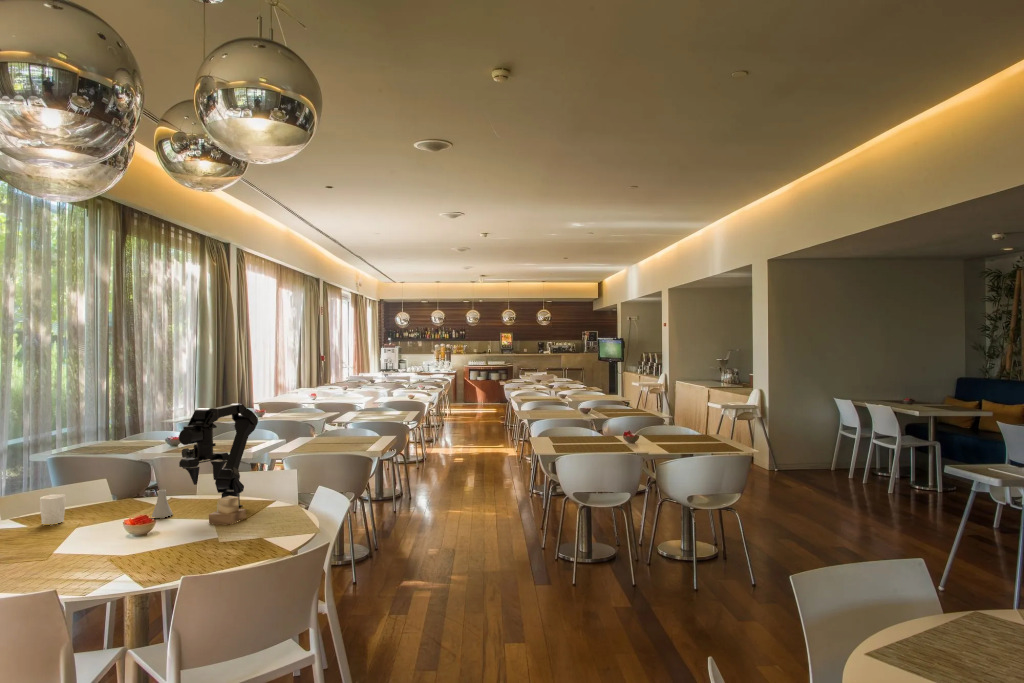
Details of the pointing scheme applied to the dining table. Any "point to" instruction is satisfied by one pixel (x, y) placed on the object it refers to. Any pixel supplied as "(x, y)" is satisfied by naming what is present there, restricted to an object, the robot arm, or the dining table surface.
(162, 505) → the flask
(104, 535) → the dining table surface
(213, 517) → the base block
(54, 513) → the white cup
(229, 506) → the oak cube
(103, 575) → the dining table surface
